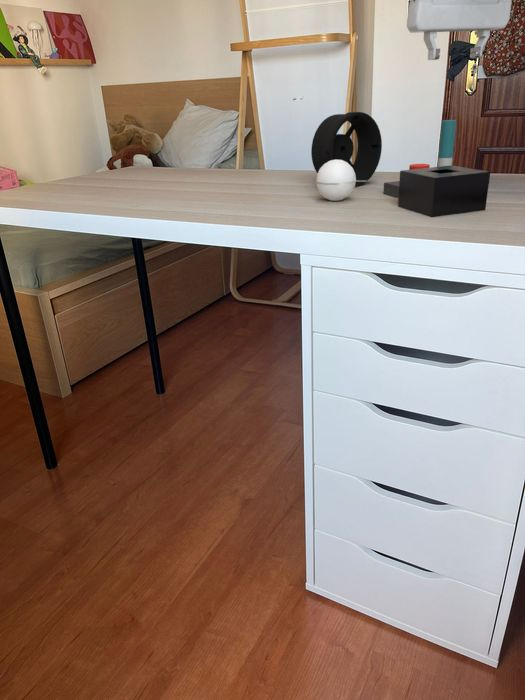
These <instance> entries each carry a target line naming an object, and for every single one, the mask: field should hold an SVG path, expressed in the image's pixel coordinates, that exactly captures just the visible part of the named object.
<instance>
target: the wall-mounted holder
mask: <svg viewBox="0 0 525 700" xmlns="http://www.w3.org/2000/svg"><path fill="white" fill-rule="evenodd" d="M345 123H350V126H349V128H348V129H347V131H346V132H345V133H338V132H339V130H340V129H341V127H342V126H343V125H344V124H345ZM354 131H355V135H356V140H357V141H356V142H357V152H356V156H355V159H354V162H353V163H352V161H351V159H352V158H353V157H352V156H353V154H354V149H355V148H354V147H355V146H354V142H353V139H352V137H351V136H352V135H353V132H354ZM381 134H382V133H381V131H380V128H379V125H378V123H377V121H376V120H375V119H374V118H373V116H371V115H370V114H368V113H366V112H363V111H350V112H347V113H338V114H337V113H336V114H332V115H330V116H328V117H326V118H325V119H324V120H322V121H321V123H320V124H319V125H318V127H317V129H316V130H315V132H314V134H313V135H314V136H313V138H312V142H311V150H310V151H311V153H310V154H311V161H312V165H313V168H314V170H315V172H316V173H317V174H318V172H319V169H320V168H321V167H322V166H323V165H324V164H325V163H327V162H329V161H330V160H343V161H345V162H347V163H348V164H349V165H350V166H351V167H352V168H353V170H354V172H355V175H356V183H355V187H354V188H358V187H360V186H362V185H364V184H365V183H367V182H368V181H369V180H370V179H371V178H372V177H373V175H374V174H375V172H376V170H377V168H378V166H379V164H380V161H381V156H382V150H383V148H382V147H383V141H382V135H381ZM317 174H316V175H317Z"/></svg>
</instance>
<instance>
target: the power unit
mask: <svg viewBox="0 0 525 700" xmlns="http://www.w3.org/2000/svg"><path fill="white" fill-rule="evenodd" d="M399 182H400V180H396V181H395V180H394V181H387V182H384V183H383V191H382V192H383V193H382V194H383V195H386V196H389V197H392V198H396V199H399Z"/></svg>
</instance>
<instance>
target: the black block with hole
mask: <svg viewBox="0 0 525 700" xmlns="http://www.w3.org/2000/svg"><path fill="white" fill-rule="evenodd" d="M490 178H491V171H487V170H483V169H477V168H476V169H475V168H469V167H464V166H457V165H453V164H452V165H450V166H441V167H438V166H433V167H429V168H422V169H412V170H409V169H404V170H400V171H399V181H400V182H399V198H397V199H398V200H397V207H398V208H401V209H404V210H407V211H411V212H413V213H416V214H419V215H422V216H426V217H429V218H437V217H444V216H452V215H459V214H468V213H475V212H483V211H486V208H487V200H488V193H489V187H490Z"/></svg>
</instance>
